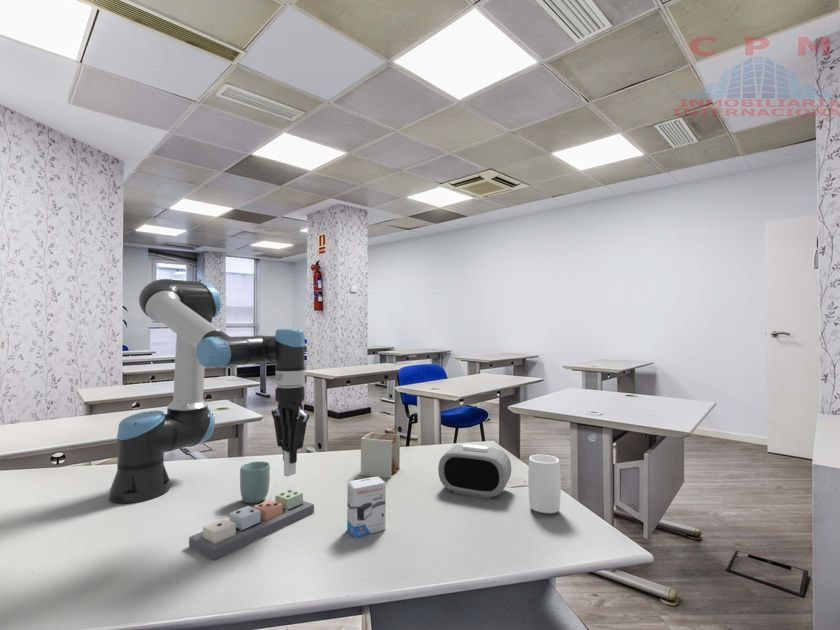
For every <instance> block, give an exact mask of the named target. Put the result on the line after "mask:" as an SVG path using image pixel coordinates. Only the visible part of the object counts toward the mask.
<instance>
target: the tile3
mask: <svg viewBox="0 0 840 630" xmlns="http://www.w3.org/2000/svg"><path fill="white" fill-rule="evenodd" d="M253 508H255V509H258V510H260V511H261V517H260V519H261V520H263V521H265V522H266V521H268V520H270V519H272V518H275V517H277V516H279V515H281V514H283V504H281V503H278V502H276V501H275V500H272V499H269V500H266V501H264V502H263V501H262V502H261V503H257V504H256V505H254V506H253Z"/></svg>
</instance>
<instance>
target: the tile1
mask: <svg viewBox="0 0 840 630" xmlns="http://www.w3.org/2000/svg"><path fill="white" fill-rule="evenodd" d="M229 520H230V519H226V518H224V517H223V518H221V519H218V520H215V521H213V522H210V523H208V524H205V525H204V526H202V532H203V539H205V540H207V541H209V542H211V543H213V544H216V543H218V542H221V541H223V540H225V539H227V538H230V537H232V536H234V535H236V524H235V523H233V522H231V521H229Z"/></svg>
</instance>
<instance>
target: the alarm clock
mask: <svg viewBox="0 0 840 630" xmlns="http://www.w3.org/2000/svg"><path fill="white" fill-rule="evenodd" d="M438 462H439V463H438V469H437V470H438V471H437V472H438V478H439V480H440V482H441V484H442V485H443V486H444V487H445V488H446V489H447V490H451V491H452V493H453V494H459V495H464V496H465V495H466V496H471V497H476V498H484V499H490V500H491V499H492V498H493V497H496V496H498V495H500V494H502V493H503V491H504V490H505V488H506V486H507V484H508V483H509V480H510V478H511V475H512V462H511V459H510V457H509V455H508V454H507V453H506V451H503V450H502V449H499V448H495V447H489V446H485V445H480V444H479V445H478V444H470V443H468V444H466V443H465V444H455V445H454V446H452V447H451V448H450V449H449V450H448V451H446V452H445V453H444V454H443V455H442V456H441V458H440V459H439V461H438Z"/></svg>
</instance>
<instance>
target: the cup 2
mask: <svg viewBox="0 0 840 630" xmlns="http://www.w3.org/2000/svg"><path fill="white" fill-rule="evenodd" d="M560 465H561V464H560V459H559V458H557V457H556V456H554V455H549V454H542V453H541V454H539V453H538V454H532V455H530V456H529V459H528V476H527V478H528V480H527V481H528V501H529V508H531V509H532V510H533V511H535V512H537V513H544V514H553V513H554V514H555V513H558V512H559V511H560V508H561V494H562V493H561V491H562V489H561V488H562V487H561V485H562V484H561V482H562V481H561V480H562V478H561V467H560Z"/></svg>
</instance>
